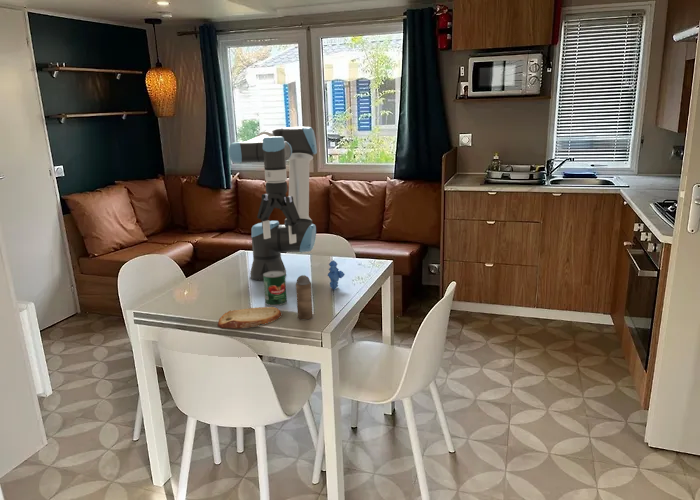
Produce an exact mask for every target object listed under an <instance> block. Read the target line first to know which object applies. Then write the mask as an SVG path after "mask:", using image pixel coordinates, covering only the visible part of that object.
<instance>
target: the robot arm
mask: <svg viewBox="0 0 700 500" xmlns="http://www.w3.org/2000/svg"><path fill="white" fill-rule="evenodd" d="M317 147H318V146H317V139H316V134H315V131H314V129H313V128H312V126H303V125H302V126H288V127H287V126H285V127H284V126H282V127H273V128H270V129H266V130H265V131H261V132H259V133H257V135H256V136H255V137H253V138H251V139H249V140H245V141H235V142H231V143H229V147H228V155H229V159H230V161H231V162H232V163H234V164H251V163H263V167H264V181H266V182H265V193H263V194H261V201H260V205H259V209H258V213H257V216H256V217H257V220H261V222H258V223H255V224H254V225H252V227H251V229H250V230H251V236H250V237H251V244H252V257H253V259H252V264H251V269H250V271H249V274H250V278H251V279H252V280H254V281H259V282H262V281H263V282H264V276H263V274H264V273H266V272H269V271H283V272H285V277H286V276H287V270H286V267H285V264H284V262H283V260H282V254H281V253H308V252H311V251H312V250H313V249H314V246H315V243H316V238H317V237H316V236H317V226H316V224H314V223H313V219H311V217H310V215H309V214H310V213H309V212H310V209H309V208H310V162H311V161H312V160H313V159H314V155H317V153H318V148H317ZM287 161H288V163H289V164H288V165H289V166H288V168H289V169H288V170H289V171H288V174H287V166H286V165H287ZM287 176H288V177H287ZM287 180H288V182H287ZM287 193H288V196H287ZM274 209H279V210H280V211H282V213H283V215H284V216H285V219H284V224H280V222H279V220H270V216H271V214H272V212H273V211H274Z"/></svg>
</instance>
